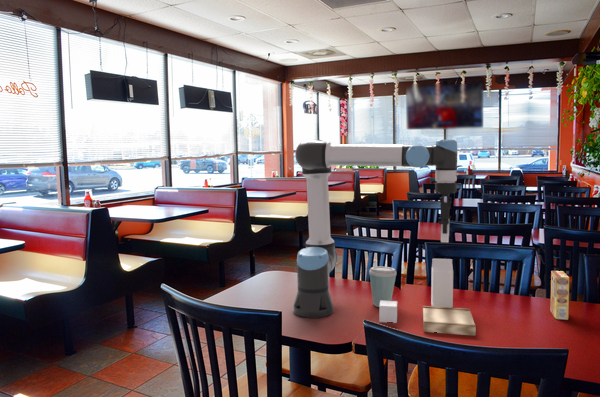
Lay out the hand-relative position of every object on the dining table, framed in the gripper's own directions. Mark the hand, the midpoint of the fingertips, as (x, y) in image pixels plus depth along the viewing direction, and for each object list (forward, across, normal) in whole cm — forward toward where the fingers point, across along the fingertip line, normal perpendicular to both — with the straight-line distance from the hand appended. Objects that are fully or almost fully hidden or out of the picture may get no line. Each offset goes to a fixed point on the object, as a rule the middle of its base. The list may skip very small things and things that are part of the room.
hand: (445, 238), depth 167 cm
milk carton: (+27, 0, +1) cm, 27 cm away
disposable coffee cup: (+27, -2, +23) cm, 35 cm away
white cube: (+27, -17, +18) cm, 37 cm away
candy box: (+27, +4, -39) cm, 48 cm away
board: (+27, -16, -2) cm, 31 cm away
